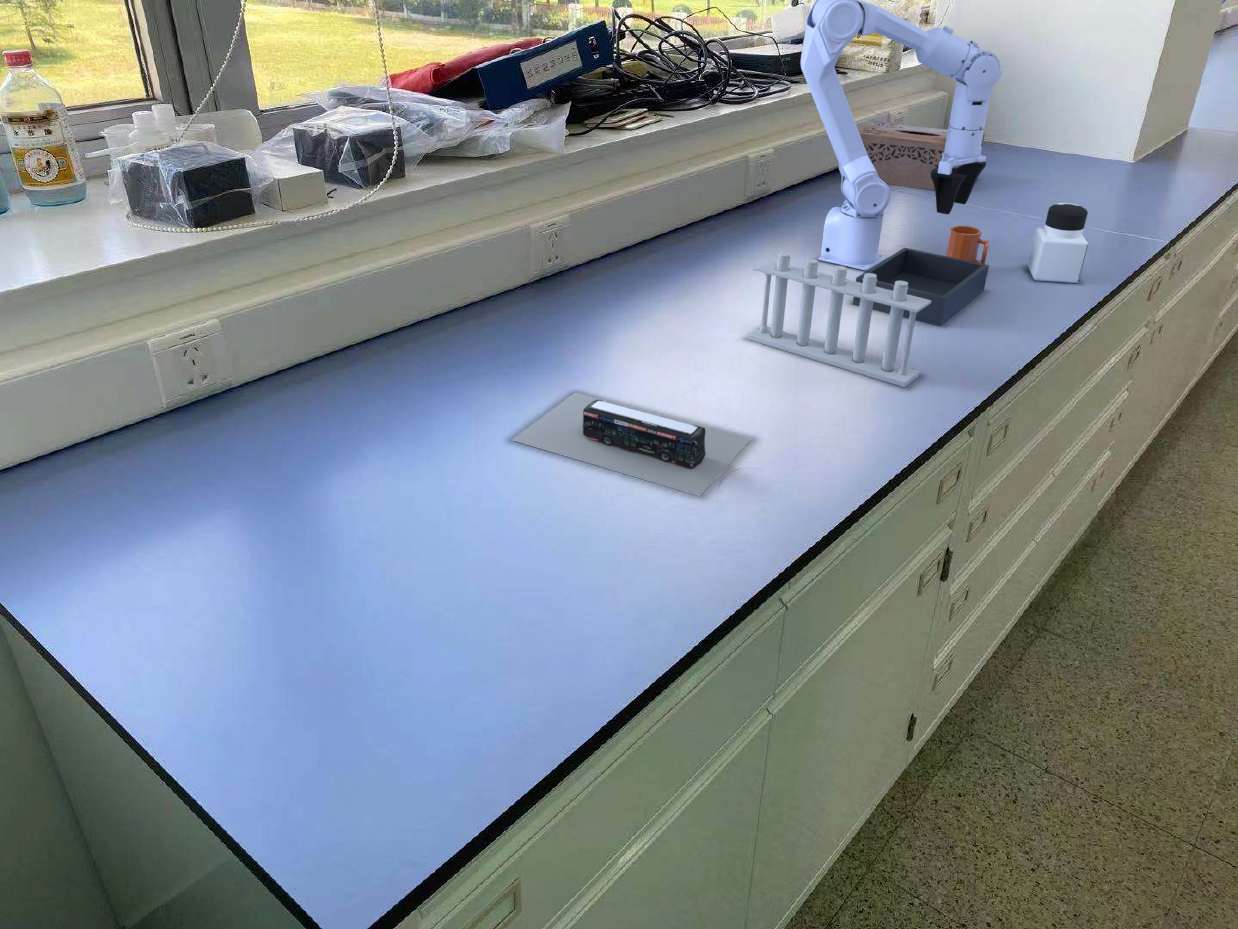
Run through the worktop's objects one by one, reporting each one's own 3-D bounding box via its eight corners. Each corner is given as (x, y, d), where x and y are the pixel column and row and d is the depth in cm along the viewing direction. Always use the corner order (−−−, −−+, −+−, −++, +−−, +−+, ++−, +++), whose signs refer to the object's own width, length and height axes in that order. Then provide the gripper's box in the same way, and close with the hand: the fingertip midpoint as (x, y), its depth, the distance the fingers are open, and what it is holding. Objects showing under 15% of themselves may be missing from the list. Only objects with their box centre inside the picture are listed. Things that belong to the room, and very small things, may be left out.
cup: (939, 270, 167) (946, 230, 163) (949, 262, 170) (957, 223, 167) (977, 278, 164) (985, 238, 160) (987, 270, 167) (995, 231, 163)
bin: (852, 304, 153) (856, 277, 151) (900, 272, 166) (904, 247, 164) (940, 326, 146) (945, 298, 144) (983, 291, 158) (989, 264, 156)
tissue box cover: (976, 178, 219) (984, 133, 214) (959, 193, 209) (968, 146, 203) (867, 163, 231) (873, 120, 226) (846, 177, 220) (851, 132, 215)
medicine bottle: (1078, 284, 161) (1096, 213, 155) (1033, 280, 163) (1050, 210, 156) (1070, 269, 167) (1087, 201, 161) (1027, 266, 169) (1042, 198, 162)
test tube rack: (918, 376, 131) (935, 284, 124) (904, 387, 128) (920, 293, 121) (762, 330, 145) (770, 244, 138) (746, 339, 142) (753, 252, 135)
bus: (699, 496, 105) (701, 463, 103) (511, 440, 116) (509, 409, 114) (750, 439, 116) (753, 408, 114) (575, 392, 126) (574, 363, 124)
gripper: (974, 137, 153) (958, 221, 160) (1005, 122, 163) (988, 202, 170) (931, 131, 156) (918, 214, 163) (964, 117, 166) (950, 195, 173)
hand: (951, 207), depth 167 cm, fingers open, 7 cm apart
